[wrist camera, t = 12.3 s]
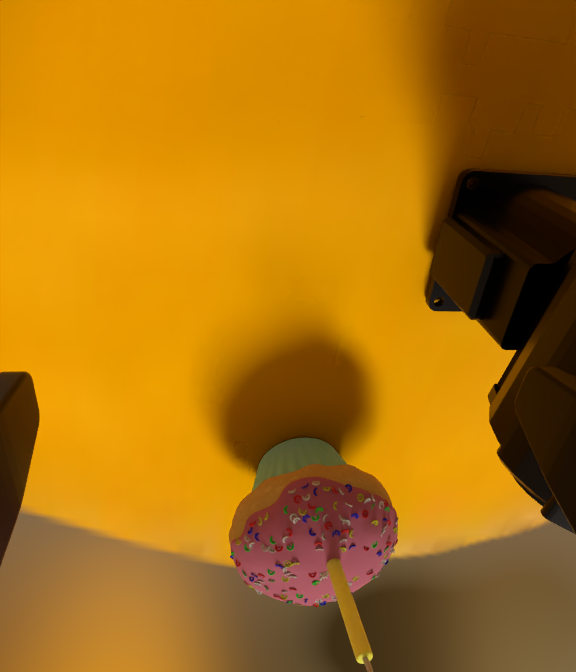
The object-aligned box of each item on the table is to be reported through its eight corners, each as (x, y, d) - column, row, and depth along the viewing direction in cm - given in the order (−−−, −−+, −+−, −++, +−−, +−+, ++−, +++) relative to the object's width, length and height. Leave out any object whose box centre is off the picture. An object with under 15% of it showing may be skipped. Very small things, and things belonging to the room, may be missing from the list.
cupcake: (244, 402, 26) (273, 647, 16) (394, 419, 28) (502, 643, 18) (213, 513, 30) (220, 763, 20) (345, 520, 32) (411, 748, 22)
